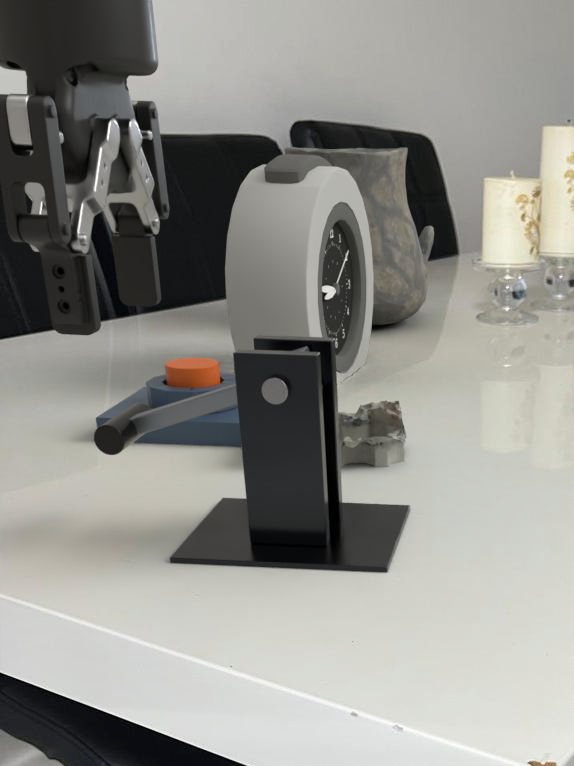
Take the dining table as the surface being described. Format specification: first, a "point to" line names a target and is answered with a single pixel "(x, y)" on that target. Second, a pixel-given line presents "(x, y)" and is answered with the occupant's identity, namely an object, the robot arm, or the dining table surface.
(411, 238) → the vessel
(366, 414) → the egg carton
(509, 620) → the dining table surface
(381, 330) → the dining table surface
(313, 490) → the black lever stand
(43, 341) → the dining table surface
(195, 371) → the button
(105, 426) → the grey crank handle
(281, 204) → the alarm clock
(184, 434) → the control block
